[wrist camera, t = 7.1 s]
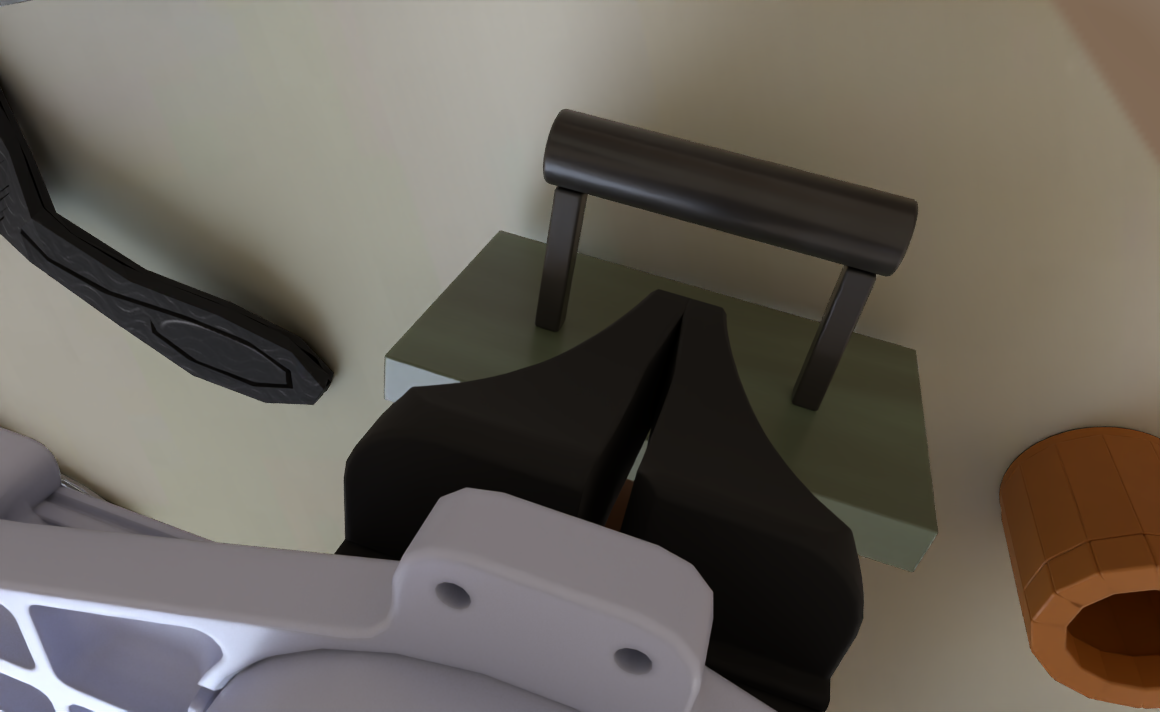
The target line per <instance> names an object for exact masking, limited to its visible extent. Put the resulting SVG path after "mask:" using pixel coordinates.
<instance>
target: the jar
mask: <svg viewBox="0 0 1160 712" xmlns="http://www.w3.org/2000/svg"><path fill="white" fill-rule="evenodd" d="M999 499H1000V506H1001V516H1002V523H1003V528H1004V533H1005V537H1006V542H1007V546H1008V551H1009V555H1010V560H1011V564H1012V569H1013V573H1014V578H1015V583H1016V587H1017V592H1018V596H1019V601H1020V605H1021V610H1022V614H1023V617H1024V623H1025V627H1026V632H1027V636H1028V641H1029V645H1030V649H1031V651H1032V653H1033V654H1034V655H1035V657H1036V658H1037V659H1038V661H1039V662H1040V663H1041V664H1042V666H1043V667H1044V668H1045V669H1046V671H1047V672H1048V673H1049V675H1050V676H1051V677H1052V678H1054V680H1056V681H1057V682H1059V683H1061V684H1063V685H1065V686H1067V687H1069V688H1071V689H1073V690H1075V691H1077V692H1079V693H1080V694H1082V695H1084V696H1086V697H1088V698H1091V699H1092V698H1093V699H1095V700H1100V701H1105V702H1110V703H1115V704H1120V705H1125V706H1130V707H1135V708H1141V707H1143V708H1146V709H1149V708H1160V439H1159V438H1157V437H1155V436H1152V435H1150V434H1147V433H1144V432H1140V431H1136V430H1131V429H1125V428H1117V427H1092V428H1084V429H1076V430H1072V431H1068V432H1064V433H1061V434H1058V435H1055V436H1052V437H1049V438H1047V439H1045V440H1043V441H1040V442H1039V443H1037V444H1035V445H1034V446H1032V447H1030V448H1029V449H1027V450H1026V451H1025V452H1023V453H1022V454H1021V455H1020V456H1019V457H1018V458H1017V459H1016V460H1015V461H1014V462H1013V463H1012V464H1011V466H1010V467H1009V468H1008V470H1007V472H1006V473H1005V475H1004V477H1003V480H1002V483H1001V486H1000V492H999Z"/></svg>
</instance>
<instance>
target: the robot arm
mask: <svg viewBox="0 0 1160 712" xmlns="http://www.w3.org/2000/svg"><path fill="white" fill-rule="evenodd" d="M650 429H651V430H650ZM649 431H650V435H649V439H648V444H647V449H646V451H645V454H644V456H643V458H642V461H641V463H640V465H639V468H638V470H637V472H636V476H635V480H634V483H633V487H632V490H631V494H630V497H629V501H628V504H627V508H626V511H625V515H624V519H623V522H622V526H621V529H620V532H618V531H615V530H612V529H609V528H606V527H605V524H606V522H607V520H608V517H609V515H610V512H611V510H612V508H613V506H614V504H615V502H616V500H617V498H618V496H619V494H620V492H621V490H622V487H623V485H624V483H625V481H626V479H627V477H628V475H629V473H630V471H631V469H632V467H633V465H634V463H635V460H636V458H637V456H638V454H639V452H640V450H641V448H642V446H643V444H644V442H645V439H646V437H647V435H648V433H649ZM344 507H345V540H344V542H343V543H342V544H341V546H340V547H339V548H338V550H337V551H336V552H335V554H326V553H317V552H307V551H297V550H287V549H277V548H267V547H257V546H248V545H238V544H228V543H218V542H214V541H211V540H208V539H206V538H203V537H200V536H198V535H195V534H192V533H189V532H187V531H184V530H181V529H179V528H176V527H173V526H171V525H168V524H165V523H163V522H160V521H157V520H154V519H152V518H149V517H146V516H144V515H141V514H138V513H136V512H133V511H130V510H128V509H125V508H122V507H120V506H117V505H114V504H111V503H109V502H106V501H103V500H101V499H98V498H95V497H93V496H90V495H87V494H85V493H82V492H79V491H76V490H74V489H71V488H68V487H66V486H63V485H62V484H61V475H60V469H59V466H58V463H57V461H56V459H55V457H54V455H53V454H52V452H51V451H50V450H49V449H47V448H46V447H45V446H44V445H43V444H41V443H40V442H38V441H36V440H34V439H32V438H29V437H26V436H24V435H21V434H18V433H15V432H13V431H10V430H7V429H4V428H2V427H0V712H825V711H826V709H827V708H828V705H829V701H830V678H831V677H832V675H833V673H834V672H835V670H836V668H837V667H838V665H839V664H840V662H841V660H842V659H843V657H844V655H845V654H846V652H847V651H848V649H849V647H850V646H851V644H852V642H853V641H854V639H855V638H856V636H857V634H858V631H859V628H860V626H861V623H862V620H863V608H864V592H863V583H862V575H861V570H860V564H859V559H858V554H857V549H856V545H855V540H854V536H853V532H852V530H851V529H850V528H849V527H848V526H847V525H846V524H845V523H844V522H843V521H842V520H840V519H839V518H838V517H837V516H836V515H835V514H834V513H833V512H832V511H830V510H829V509H828V508H827V507H826V506H825V505H824V504H823V503H822V502H820V501H819V500H818V499H817V498H816V497H815V496H814V495H813V494H812V493H811V492H810V490H809V489H808V488H807V487H806V486H805V485H804V484H803V483H802V482H801V481H800V480H799V478H798V477H797V476H796V475H795V474H794V473H793V471H792V470H791V469H790V468H789V467H788V465H787V464H786V463H785V461H784V460H783V459H782V457H781V456H780V455H779V453H778V452H777V450H776V449H775V448H774V446H773V445H772V443H771V442H770V440H769V439H768V437H767V436H766V434H765V432H764V430H763V429H762V427H761V425H760V423H759V421H758V419H757V418H756V415H755V413H754V411H753V409H752V407H751V405H750V403H749V400H748V398H747V395H746V393H745V390H744V388H743V385H742V383H741V380H740V377H739V374H738V371H737V367H736V364H735V361H734V358H733V354H732V350H731V346H730V341H729V336H728V330H727V314H726V312H725V311H724V309H723V307H719V306H716V305H712V304H709V303H705V302H702V301H699V300H695V299H692V298H688V297H685V296H681V295H678V294H675V293H671V292H668V291H664V290H661V289H657V290H655V291H653V292H651V293H650V294H649V295H648V296H647V297H646V298H644V299H643V300H642V301H641V302H640V303H639V304H637V305H636V306H635V307H634V308H633V309H631V310H630V311H629V312H627V313H626V314H625V315H624V316H622V317H621V318H619V319H618V320H616V321H615V322H614V323H612V324H611V325H609V326H608V327H607V328H605V329H604V330H602V331H601V332H599V333H597V334H596V335H594V336H592V337H591V338H589V339H587V340H586V341H584V342H582V343H580V344H579V345H577V346H575V347H573V348H571V349H569V350H568V351H566V352H564V353H561V354H559V355H557V356H555V357H553V358H551V359H548V360H546V361H543V362H541V363H538V364H534V365H531V366H528V367H525V368H522V369H519V370H516V371H512V372H509V373H506V374H502V375H497V376H493V377H488V378H483V379H478V380H472V381H467V382H460V383H451V384H440V385H429V386H414V387H411V388H410V389H409V390H408V391H407V392H406V393H405V394H404V395H403V396H402V397H400V398H399V399H398V400H397V401H396V402H394V403H393V404H392V405H391V406H390V407H389V408H388V409H387V410H386V411H385V412H384V413H383V414H382V415H381V416H380V417H379V419H378V420H377V421H376V422H375V423H374V425H373V426H372V427H371V428H370V429H369V430H368V432H367V433H366V434H365V435H364V436H363V438H362V439H361V440H360V441H359V442H358V444H357V445H356V446H355V448H354V449H353V451H352V453H351V454H350V456H349V457H348V459H347V461H346V467H345V474H344Z"/></svg>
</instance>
